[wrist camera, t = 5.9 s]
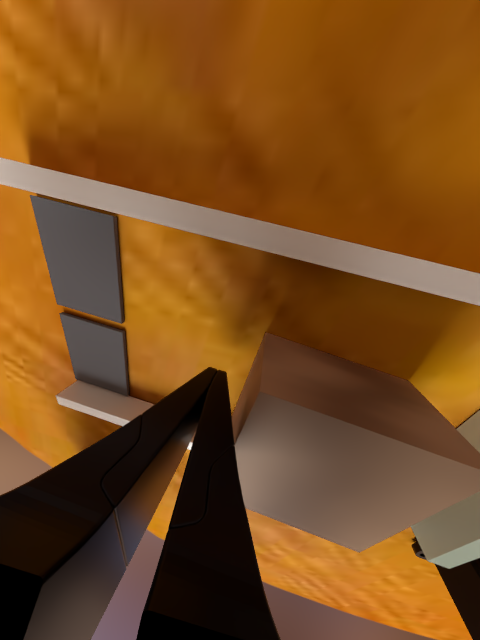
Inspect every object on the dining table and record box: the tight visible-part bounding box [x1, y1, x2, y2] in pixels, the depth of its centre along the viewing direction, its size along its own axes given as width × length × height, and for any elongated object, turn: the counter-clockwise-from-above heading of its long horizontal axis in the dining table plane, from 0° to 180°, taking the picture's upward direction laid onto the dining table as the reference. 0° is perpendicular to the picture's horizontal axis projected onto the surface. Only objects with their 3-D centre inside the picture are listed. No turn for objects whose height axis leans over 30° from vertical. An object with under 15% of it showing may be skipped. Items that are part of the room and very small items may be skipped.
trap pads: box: [30, 195, 130, 396], centre depth 10 cm, size 4×11×1 cm, turn 167°
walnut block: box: [232, 332, 480, 552], centre depth 8 cm, size 7×7×4 cm
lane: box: [0, 158, 480, 569], centre depth 8 cm, size 23×13×3 cm, turn 77°
